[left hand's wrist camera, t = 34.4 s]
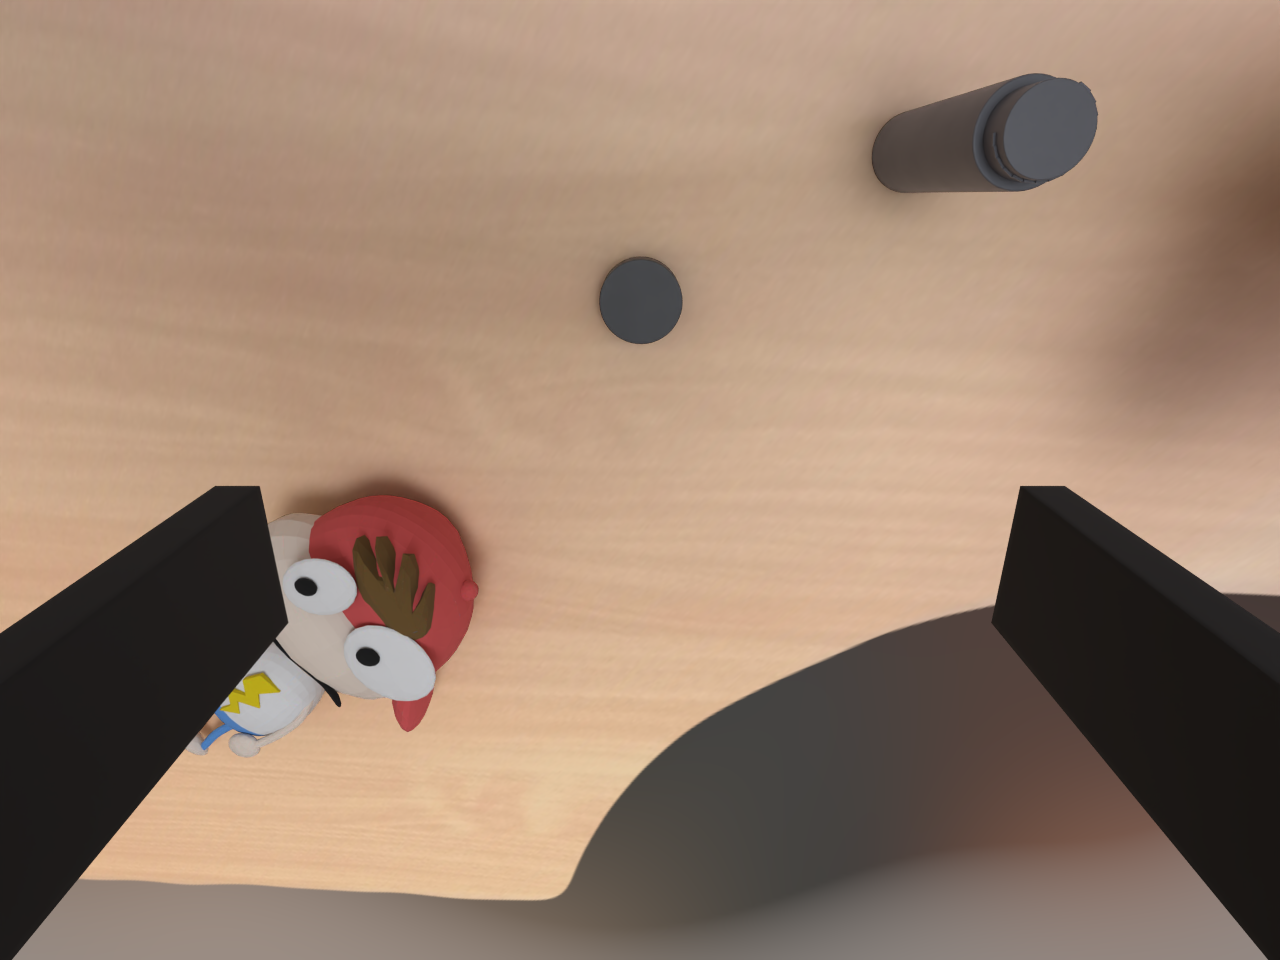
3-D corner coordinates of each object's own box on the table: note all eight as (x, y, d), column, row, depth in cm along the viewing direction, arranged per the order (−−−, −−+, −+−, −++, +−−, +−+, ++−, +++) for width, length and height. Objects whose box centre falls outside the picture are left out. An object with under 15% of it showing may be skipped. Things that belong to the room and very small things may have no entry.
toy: (-6, 671, 47) (355, 512, 39) (104, 576, 56) (417, 431, 48) (192, 836, 55) (528, 732, 47) (262, 730, 63) (554, 627, 55)
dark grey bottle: (910, 207, 44) (1046, 214, 29) (856, 161, 43) (968, 143, 28) (962, 143, 43) (1133, 116, 28) (908, 93, 42) (1054, 38, 27)
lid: (610, 247, 45) (609, 250, 43) (689, 267, 45) (691, 270, 43) (593, 327, 47) (591, 333, 45) (669, 345, 47) (670, 352, 45)
